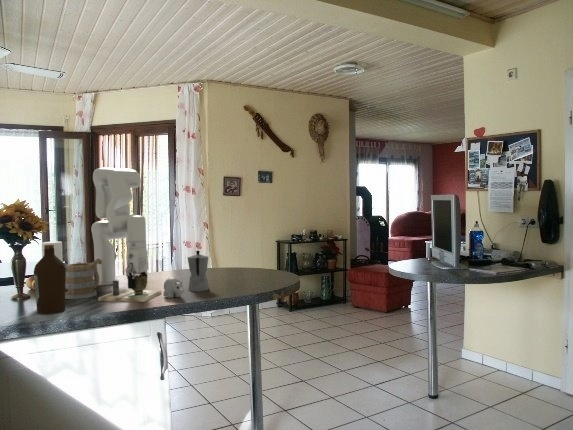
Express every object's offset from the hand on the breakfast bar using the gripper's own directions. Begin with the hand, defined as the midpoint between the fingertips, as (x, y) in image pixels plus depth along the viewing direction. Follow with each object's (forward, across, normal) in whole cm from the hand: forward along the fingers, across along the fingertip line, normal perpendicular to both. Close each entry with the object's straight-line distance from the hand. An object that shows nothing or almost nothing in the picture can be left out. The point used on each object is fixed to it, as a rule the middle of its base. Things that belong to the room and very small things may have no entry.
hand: (137, 286), depth 186 cm
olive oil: (+6, -23, +23) cm, 33 cm away
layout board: (+5, +3, +5) cm, 8 cm away
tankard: (+6, +7, +28) cm, 29 cm away
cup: (+4, +1, 0) cm, 4 cm away
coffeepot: (+6, +20, -19) cm, 28 cm away
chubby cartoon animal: (+6, +3, -15) cm, 16 cm away
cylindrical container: (+6, -12, +30) cm, 33 cm away
